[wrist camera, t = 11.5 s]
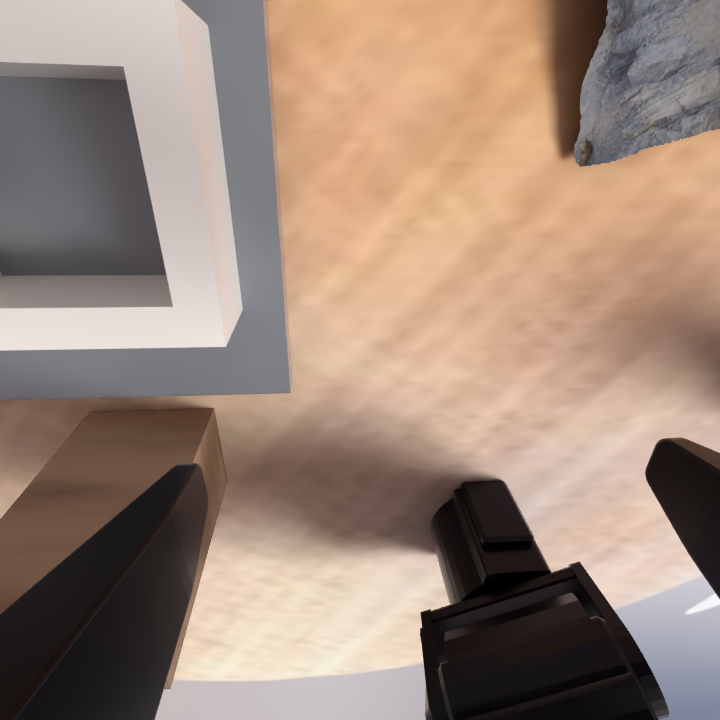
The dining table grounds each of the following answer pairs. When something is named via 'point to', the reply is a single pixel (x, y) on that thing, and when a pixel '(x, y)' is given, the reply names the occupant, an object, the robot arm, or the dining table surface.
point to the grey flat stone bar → (650, 78)
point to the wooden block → (105, 490)
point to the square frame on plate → (139, 201)
